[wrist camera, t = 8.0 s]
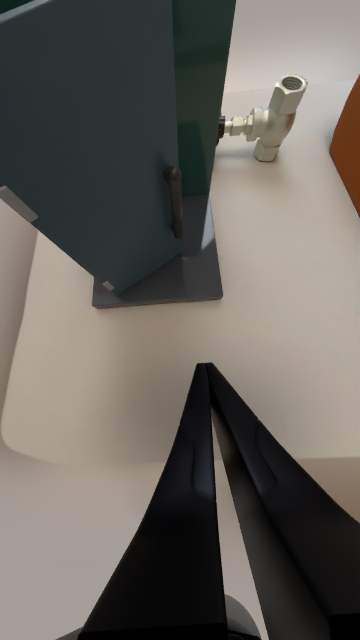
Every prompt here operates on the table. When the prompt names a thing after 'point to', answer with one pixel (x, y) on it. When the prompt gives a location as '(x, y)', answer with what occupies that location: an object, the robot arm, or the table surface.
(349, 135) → the alarm clock
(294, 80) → the valve
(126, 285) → the shower door
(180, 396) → the table surface
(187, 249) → the shower stall
